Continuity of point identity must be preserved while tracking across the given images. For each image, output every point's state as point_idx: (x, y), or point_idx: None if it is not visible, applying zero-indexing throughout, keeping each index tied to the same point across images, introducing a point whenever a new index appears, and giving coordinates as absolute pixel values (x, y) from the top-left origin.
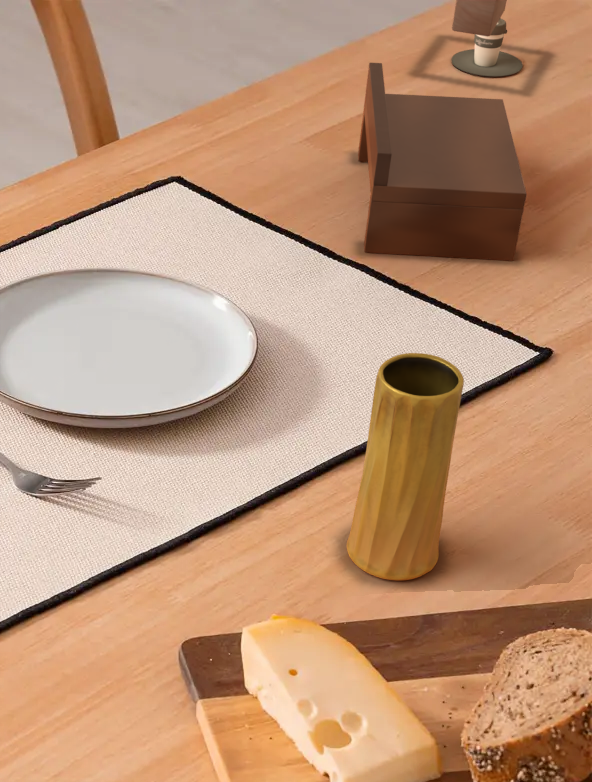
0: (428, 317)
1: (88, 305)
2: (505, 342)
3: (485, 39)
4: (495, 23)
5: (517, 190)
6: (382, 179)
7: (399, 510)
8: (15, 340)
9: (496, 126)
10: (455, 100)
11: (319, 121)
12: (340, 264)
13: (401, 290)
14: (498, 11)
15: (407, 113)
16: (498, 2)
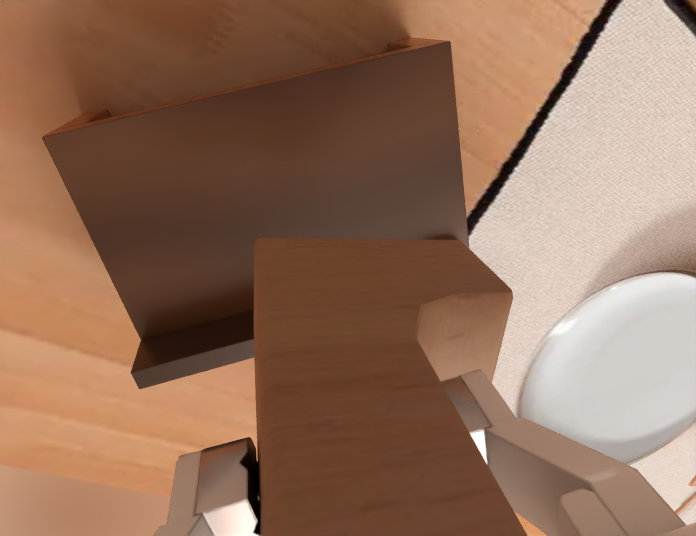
0: (568, 127)
1: (578, 414)
2: (616, 25)
3: None
4: (411, 243)
5: (442, 58)
6: None
7: None
8: (632, 434)
9: (188, 130)
10: (101, 221)
11: (78, 371)
12: None
13: (513, 169)
14: (404, 254)
15: (203, 282)
16: (451, 271)
